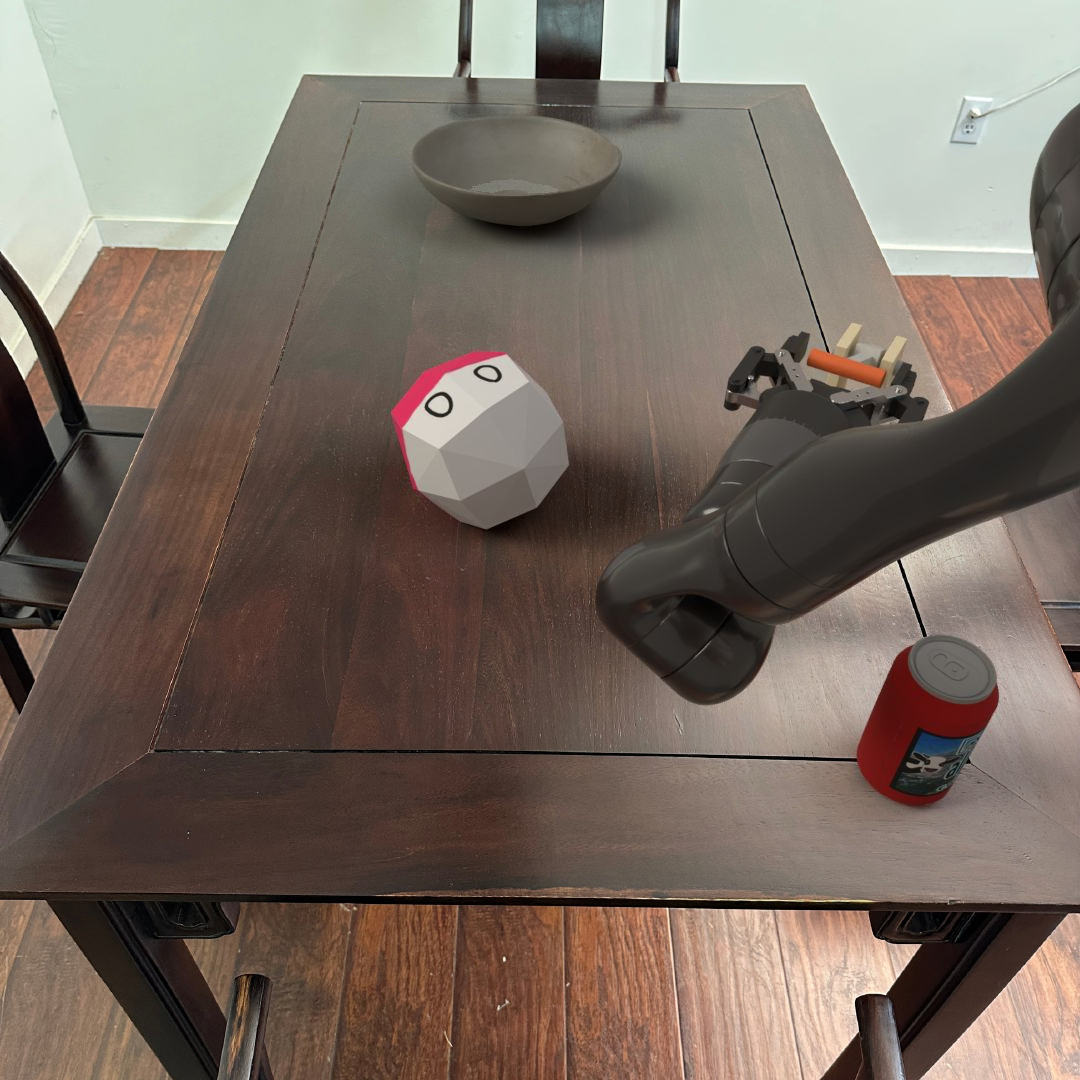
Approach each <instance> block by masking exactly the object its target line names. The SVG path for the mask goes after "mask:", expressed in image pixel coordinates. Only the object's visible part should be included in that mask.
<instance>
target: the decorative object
mask: <svg viewBox="0 0 1080 1080" xmlns="http://www.w3.org/2000/svg"><path fill="white" fill-rule="evenodd" d="M390 414H391V417H392V421H393V425H394V427H395V428H394V429H395V431H396V434H397V438H398V441H399V445H400V449H401V451H402V454H403V459H404V461H405V465H406V469H407V472H408V475H409V478H410V482H411V486H412V489H413V490H414V491H415V492H417V493H418V494H419V495H421V496H422V497H423V498H425V499H426V500H428V501H429V502H431V503H432V504H433V505H435V506H436V507H437V508H439V509H440V510H442V511H443V512H444V513H446V514H448V515H449V516H450V517H451V518H453V519H454V520H456V521H457V522H460V523H463V524H468V525H471V526H474V527H476V528H480V529H484V530H488V529H491V528H492V527H495V526H498V525H500V524H502V523H504V522H507V521H509V520H512V519H514V518H516V517H518V516H521V515H523V514H525V513H528V512H530V511H532V510H536V509H537V508H538V507H539V505H540V504H541V503H542V502H543V500H545V498H546V496H547V495H548V494H549V493H550V491H551V490H552V488H553V487H554V486H555V485H556V483H557V482H558V480H559V479H560V478H561V477H562V475H563V474H564V472H565V471H566V470H567V469H568V468H569V466H570V463H569V461H570V460H569V454H568V448H567V440H566V439H567V438H566V433H565V426H564V421H563V419H562V418H561V415H560V414H559V412H558V410H557V408H556V407H555V405H554V403H553V401H552V399H551V397H550V396H549V394H548V392H547V391H546V389H544V387H543V386H542V385H541V384H539V383H538V382H537V381H536V380H535V379H534V378H533V376H531V375H530V374H529V373H528V372H527V371H526V370H524V368H523V367H522V366H520V365H519V364H518V363H517V362H516V361H515V360H514V359H513V358H512V357H511V356H510V355H509V354H508V353H507V352H506V351H486V350H485V351H483V350H481V351H480V350H475V351H471V352H469V353H467V354H464V355H462V356H459V357H457V358H454V359H451V360H449V361H446V362H444V363H440V364H439V365H436V366H434V367H431V368H429V369H426V370H424V371H423V372H422V373H421V375H419V377H418V378H417V379H416V381H415V382H414V383H413V384H412V386H411V387H410V388H409V389H408V390H407V392H406V393H405V394H404V395H403V397H402V398H401V399H400V400H399V402H398V403H397V404H396V405H395V407H394V408H393V409H392V410H391V411H390Z"/></svg>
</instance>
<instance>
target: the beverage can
mask: <svg viewBox="0 0 1080 1080" xmlns="http://www.w3.org/2000/svg"><path fill="white" fill-rule="evenodd" d="M997 680H998V674H997V670H996V667H995V665H994V663H993V661H992V660H991V658H990V657H989V656H988V655H987V654H986V653H985V652H984V651H983V649H981V648H979V646H977V645H976V644H974V643H972V642H971V641H968V640H967V639H964V638H962V637H959V636H955V635H950V634H940V633H939V634H931V635H927V636H924V637H922V638H920V639H919V640H917V641H916V642H915V643H913V644H911V645H909V646H907V647H905V648H904V649H902V650H901V651H900V652H899V653H897V655H896V656H895V658H894V660H893V661H892V663H891V666H890V669H889V671H888V673H887V675H886V677H885V680H884V681H883V684H882V687H881V689H880V691H879V693H878V695H877V698H876V700H875V703H874V705H873V708H872V710H871V712H870V715H869V717H868V720H867V721H866V724H865V727H864V729H863V731H862V733H861V737H860V739H859V741H858V744H857V746H856V762H857V766H858V768H859V771H860V774H861V775H862V777H863V778H864V780H865V781H866V782H867V783H868V784H869V785H870V786H871V787H872V789H873V790H875V792H877V793H879V794H880V795H882V796H883V797H885V798H886V799H888V800H891V801H892V802H895V803H898V804H902V805H905V806H910V807H911V806H912V807H922V806H928V805H931V804H934V803H937V802H939V801H941V799H943V798H945V796H946V795H947V794H948V793H949V791H950V790H951V788H952V786H953V785H954V783H955V782H956V780H957V779H958V776H959V775H960V773H961V771H962V770H963V768H964V767H965V765H966V763H967V762H968V760H969V758H970V757H971V754H972V753H973V752H974V749H975V747H976V746H977V744H978V742H979V741H980V740H981V737H982V735H983V734H984V732H985V730H986V729H987V727H988V725H989V723H990V721H991V719H992V717H993V716H994V714H995V712H996V710H997V708H998V706H999V703H1000V689H999V685H998V682H997Z"/></svg>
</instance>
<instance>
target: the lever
mask: <svg viewBox="0 0 1080 1080" xmlns="http://www.w3.org/2000/svg"><path fill="white" fill-rule="evenodd" d="M809 351H810V352H809V354H808V356H807V359H806V366H807V367H810V368H813V369H816V370H820V371H823V372H825V373H828V374H829V373H832V374H835V375H838V376H842V377H845V378H848V379H849V380H851V381H855V382H858V383H861V384H865V385H868V386H869V387H871V386H874V387H877V388H881V386H882V384H883V382H884V380H885V377H886V374H887V371H886V370H883V369H880V364H881V361H882V359H883V357H884V355H885V354H886V352H887V348H886V347H882V346H879V345H877V344H876V345H875V344H872V343H869V342H865V341H860V342H858V343H857V345H856V348H855V350H854V353H853V356H851V357H849V358H844V357H841V356H837V355H834V354H832V352H831V353H830V352H827V351H824V350H821V349H817V348H814V347H813V348H811V350H809Z"/></svg>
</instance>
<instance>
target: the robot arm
mask: <svg viewBox="0 0 1080 1080" xmlns="http://www.w3.org/2000/svg"><path fill="white" fill-rule="evenodd" d="M1028 212H1029V213H1028V221H1029V232H1030V239H1031V247H1032V248H1031V249H1032V254H1033V257H1034V262H1035V267H1036V271H1037V276H1038V280H1039V285H1040V288H1041V293H1042V298H1043V300H1044V301H1043V302H1044V307H1045V311H1046V314H1047V318H1048V323H1049V327H1050V331H1051V333H1050V334H1049V335H1048V336H1047V337H1046V338H1045V339H1044V340H1043V341H1042V343H1041V344H1039V346H1038V347H1037V348H1036V349H1035V350H1033V352H1031V353H1030V354H1029V355H1028V356H1027V357H1026V358H1025V359H1023V360H1022V361H1021V362H1020V363H1019V364H1018V365H1016V367H1015V368H1013V370H1011V371H1010V372H1009V373H1008V374H1007V375H1005V376H1004V377H1003V378H1001V379H1000V380H999V381H998V382H997V383H995V384H994V385H993V386H992V387H991V388H989V389H987V391H985V392H984V393H982V394H981V395H980V396H978V397H977V398H975V399H973V400H972V401H970V402H969V403H967V404H965V405H963V406H961V407H959V408H957V409H955V410H953V411H951V412H947V413H946V414H943V415H939V416H936V417H930V418H927V419H925V416H926V413H927V411H928V408H929V405H930V401H929V400H928V399H927V398H925V397H923V396H914V397H912V396H911V394H912V392H913V389H914V386H915V383H916V380H917V377H918V374H917V371H914V370H912V369H913V364H912V363H908V362H905V361H903V363H902V365H901V367H900V369H899V370H898V372H897V374H896V375H895V377H894V379H893V381H892V382H891V385H890V386H889V387H886V388H882V389H877V388H876V387H874V386H867V387H863V388H860V389H855V390H850V389H847V388H845V389H844V388H840V387H834V386H830V385H828V384H826V382H823V381H822V380H818V379H815V378H812V377H811V378H810V379H807V377H806V375H805V373H804V371H803V368H802V367H801V365H800V363H801V362H802V360H803V359H804V357H805V355H806V353H807V350H808V345H809V341H810V338H811V333H810V332H806V331H803V330H801V331H800V333H798V335H795V334H793V335H790V336H788V337H787V339H786V341H785V342H784V343H783V344H782V346H781V347H780V348H777V349H775V350H774V352H766V349H765V348H764V347H763V346H759V345H753V346H751V347H750V348H749V349H748V351H747V352H746V353H745V354H744V356H743V358H742V359H741V360H740V362H739V363H738V365H737V366H736V367H735V368H734V370H733V371H732V373H731V374H730V375H729V377H728V379H727V385H726V390H725V395H724V402H723V408H724V410H727V411H729V412H736V411H738V410H739V409H740V408H741V407H742V406H743V407H747V408H750V409H754V410H755V411H754V412H753V414H752V415H751V416H750V417H749V419H748V420H747V422H746V423H745V425H744V426H743V428H742V429H741V430H740V431H739V433H738V434H737V435H736V436H735V438H734V440H732V442H731V444H730V445H729V447H728V448H727V449H726V451H725V452H724V454H723V455H722V457H721V458H720V461H719V463H718V465H717V467H716V469H715V472H714V473H713V475H712V476H711V478H710V479H709V481H708V482H707V483H706V484H705V486H704V487H703V489H702V490H701V491H700V492H699V494H698V496H697V497H696V498H695V500H694V501H693V502H692V504H691V505H690V506H689V508H688V510H687V511H686V513H685V514H684V517H683V519H682V521H681V523H679V524H676V525H672V526H669V527H666V528H663V529H660V530H658V531H655V532H653V533H650V534H648V535H645V536H643V537H641V538H639V539H637V540H636V541H635V542H633V543H631V544H629V545H628V546H626V547H625V548H624V549H623V550H621V551H620V552H619V553H618V554H616V556H615V557H614V558H612V560H611V561H610V562H609V563H608V564H607V566H605V568H604V570H603V572H602V573H601V575H600V577H599V580H598V582H597V585H596V589H595V595H594V596H595V598H594V603H595V611H596V614H597V617H598V620H599V622H600V623H601V625H602V626H603V627H604V629H606V631H607V632H608V633H609V634H610V635H611V636H612V637H613V638H614V639H616V640H617V641H618V642H619V643H620V644H621V645H622V646H623V647H624V648H626V649H627V650H628V651H629V652H630V653H631V654H632V655H634V656H635V657H636V659H638V660H639V662H641V663H642V664H643V665H644V666H646V668H647V669H649V670H650V671H651V672H652V673H653V674H655V676H657V677H658V678H659V679H660V680H661V682H663V683H664V684H665V685H666V686H668V687H669V688H670V689H671V690H672V691H673V692H675V694H677V695H678V696H679V697H680V698H682V699H684V700H685V701H687V702H689V703H692V704H695V705H697V706H715V705H719V704H722V703H725V702H728V701H729V700H731V699H734V698H735V697H737V696H738V695H740V694H741V693H742V692H743V691H744V690H746V689H747V688H748V687H750V685H751V684H752V683H753V682H754V680H755V679H756V677H757V676H758V675H759V673H760V671H761V670H762V668H763V666H764V664H765V662H766V660H767V658H768V656H769V654H770V650H771V648H772V645H773V642H774V637H775V634H776V630H777V629H776V628H777V626H782V625H786V624H789V623H792V622H794V621H797V620H799V619H802V618H803V617H804V616H806V615H809V614H810V613H812V612H813V611H815V610H816V609H818V608H819V607H822V606H823V605H824V604H826V603H828V602H830V601H831V600H833V599H835V598H836V597H838V596H840V595H841V594H843V593H845V592H846V591H848V590H851V589H852V588H854V587H855V586H857V585H858V584H859V583H862V582H863V581H865V580H866V579H868V578H869V577H872V576H873V575H874V574H876V573H878V572H879V571H881V570H883V569H885V568H886V567H889V566H890V565H892V564H894V563H895V562H897V561H899V560H901V559H903V558H904V557H907V556H909V555H910V554H911V555H912V554H913V553H915V552H917V551H919V550H921V549H923V548H925V547H928V546H929V545H932V544H934V543H937V542H938V541H941V540H943V539H946V538H948V537H950V536H952V535H955V534H958V533H961V532H963V531H965V530H968V529H971V528H972V527H976V526H978V525H981V524H983V523H987V522H989V521H992V520H995V519H997V518H998V519H999V518H1000V517H1003V516H1006V515H1009V514H1011V513H1014V512H1017V511H1020V510H1022V509H1026V508H1029V507H1031V506H1034V505H1036V504H1039V503H1042V502H1045V501H1047V500H1051V499H1053V498H1055V497H1058V496H1061V495H1063V494H1066V493H1069V492H1072V491H1075V490H1077V489H1079V488H1080V102H1078V103H1077V105H1075V106H1074V107H1073V108H1071V109H1070V110H1069V111H1068V112H1067V113H1066V115H1064V116H1063V118H1062V119H1061V120H1059V122H1058V124H1057V125H1056V126H1055V128H1054V129H1053V130H1052V132H1051V133H1050V135H1049V138H1048V139H1047V141H1046V143H1045V144H1044V146H1043V148H1042V150H1041V152H1040V154H1039V157H1038V158H1037V161H1036V165H1035V167H1034V171H1033V175H1032V180H1031V186H1030V194H1029V211H1028ZM761 377H768V381H769V383H770V384H771V387H769V388H766V389H765V390H763V391H761V392H760V391H758V384H757V383H758V381H759V379H760V378H761ZM883 405H884V407H883ZM882 407H883V408H882ZM896 421H898V422H896Z"/></svg>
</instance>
